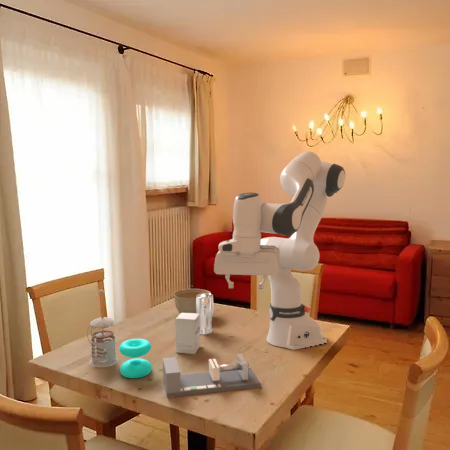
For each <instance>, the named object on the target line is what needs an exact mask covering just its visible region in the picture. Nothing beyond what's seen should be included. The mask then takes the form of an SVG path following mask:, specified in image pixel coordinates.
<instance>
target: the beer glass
mask: <svg viewBox="0 0 450 450" xmlns="http://www.w3.org/2000/svg"><path fill="white" fill-rule="evenodd" d="M196 313H198V314H200V336H207V335H212V334H213V332H214V331H213V327H212V320H213V315H214V295H213V294H212V293H211V294H208V293H202V294H198V295H196Z"/></svg>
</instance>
